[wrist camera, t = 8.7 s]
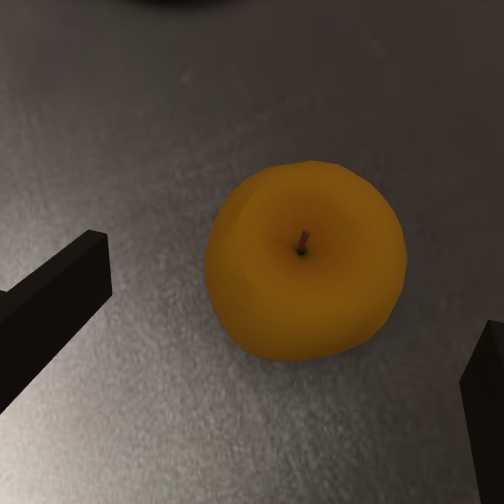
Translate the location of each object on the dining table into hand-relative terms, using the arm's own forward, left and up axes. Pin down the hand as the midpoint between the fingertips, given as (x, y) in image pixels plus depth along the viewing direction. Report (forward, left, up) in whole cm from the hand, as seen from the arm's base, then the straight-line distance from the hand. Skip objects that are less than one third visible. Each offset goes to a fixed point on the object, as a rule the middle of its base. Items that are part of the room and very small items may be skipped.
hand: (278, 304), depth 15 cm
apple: (+1, -2, -9) cm, 9 cm away
